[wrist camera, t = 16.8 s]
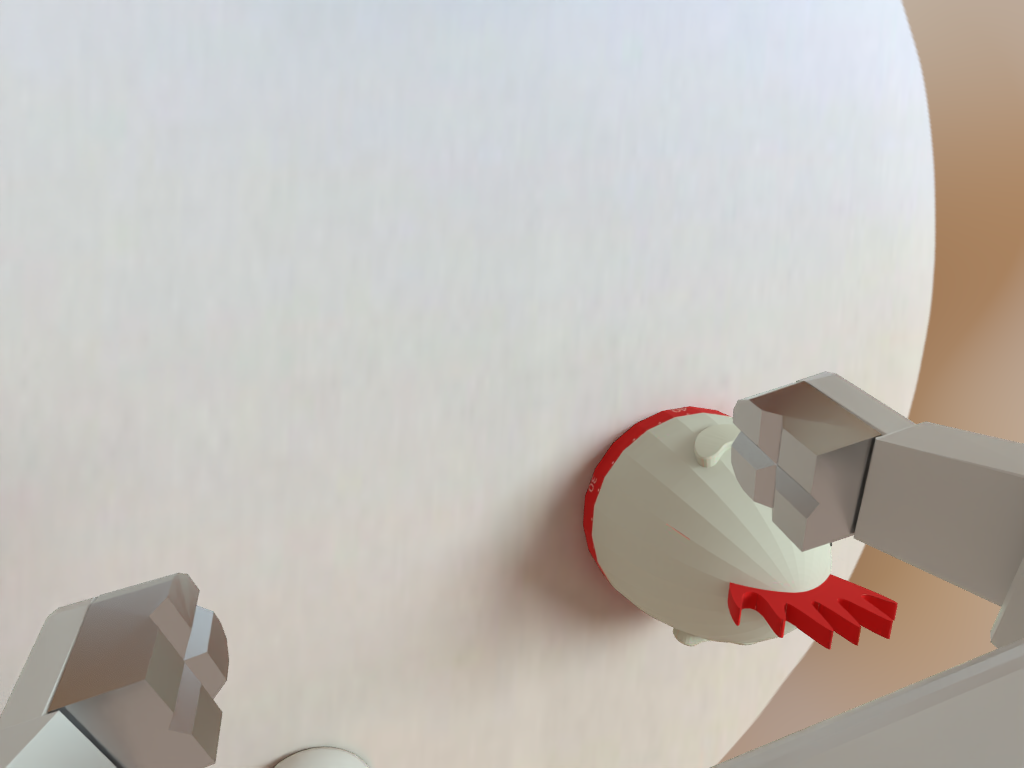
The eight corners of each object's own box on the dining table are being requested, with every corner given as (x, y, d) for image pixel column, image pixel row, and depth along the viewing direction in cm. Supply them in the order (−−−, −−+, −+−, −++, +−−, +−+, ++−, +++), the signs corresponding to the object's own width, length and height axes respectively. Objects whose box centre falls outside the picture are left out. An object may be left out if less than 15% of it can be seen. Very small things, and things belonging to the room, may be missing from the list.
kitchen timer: (754, 589, 44) (940, 750, 30) (576, 606, 41) (689, 795, 26) (779, 405, 41) (999, 484, 27) (591, 407, 38) (727, 498, 24)
